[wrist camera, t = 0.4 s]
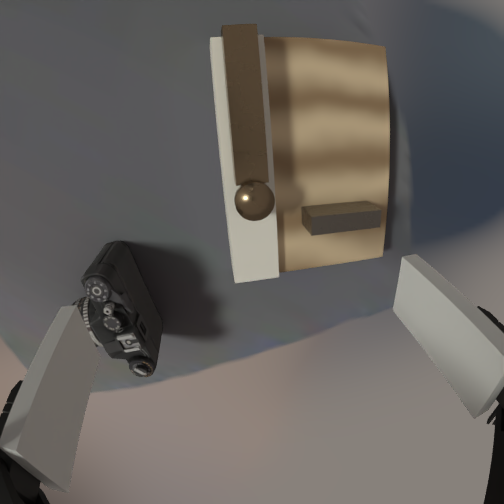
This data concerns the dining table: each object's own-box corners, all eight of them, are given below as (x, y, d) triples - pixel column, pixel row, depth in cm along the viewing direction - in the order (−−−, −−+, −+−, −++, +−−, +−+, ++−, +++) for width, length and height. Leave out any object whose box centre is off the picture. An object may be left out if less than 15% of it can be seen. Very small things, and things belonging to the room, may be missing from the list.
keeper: (301, 206, 33) (311, 217, 30) (366, 200, 34) (381, 209, 30) (301, 223, 34) (311, 235, 31) (365, 216, 34) (380, 227, 31)
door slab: (256, 43, 27) (261, 37, 25) (372, 50, 29) (385, 46, 26) (272, 261, 39) (277, 272, 36) (371, 247, 40) (382, 256, 37)
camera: (59, 259, 34) (26, 301, 25) (128, 234, 34) (106, 275, 26) (106, 341, 41) (91, 391, 32) (171, 325, 41) (167, 379, 32)
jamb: (209, 46, 27) (210, 33, 22) (256, 43, 27) (267, 30, 22) (232, 266, 38) (236, 291, 33) (272, 261, 39) (282, 285, 33)
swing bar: (269, 209, 31) (275, 218, 28) (234, 213, 31) (237, 223, 28) (256, 29, 23) (261, 21, 20) (217, 31, 23) (219, 23, 20)
